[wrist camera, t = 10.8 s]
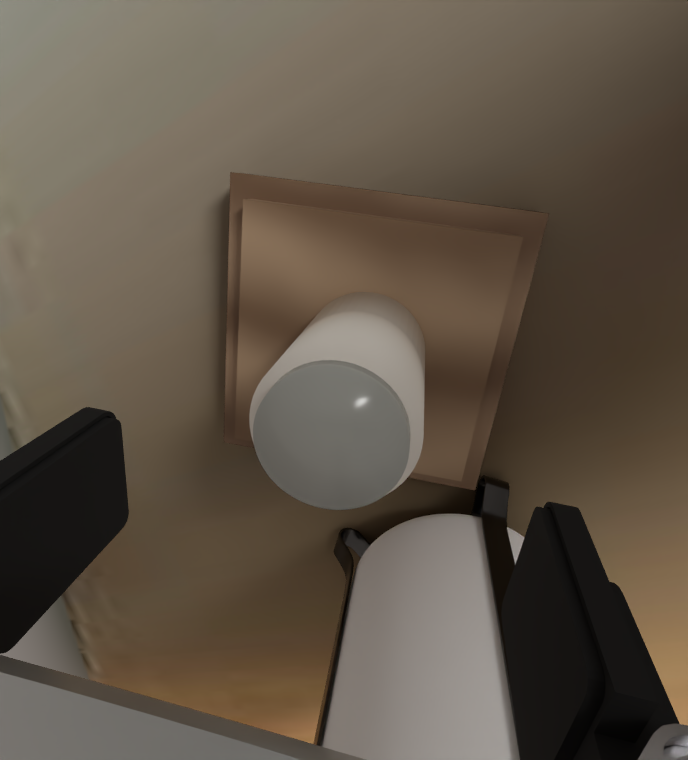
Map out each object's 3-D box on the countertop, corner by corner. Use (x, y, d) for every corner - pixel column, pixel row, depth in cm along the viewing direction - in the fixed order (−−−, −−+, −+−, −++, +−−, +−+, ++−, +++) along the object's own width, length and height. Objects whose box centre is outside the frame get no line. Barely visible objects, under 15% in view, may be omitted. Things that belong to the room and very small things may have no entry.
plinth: (246, 173, 23) (221, 171, 21) (539, 211, 22) (555, 214, 19) (236, 425, 29) (216, 450, 26) (471, 470, 27) (476, 501, 24)
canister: (312, 282, 22) (244, 340, 14) (436, 302, 21) (441, 375, 13) (301, 394, 24) (237, 500, 16) (413, 414, 23) (405, 536, 15)
